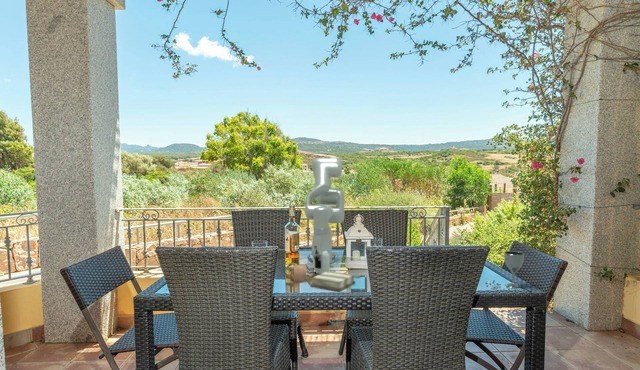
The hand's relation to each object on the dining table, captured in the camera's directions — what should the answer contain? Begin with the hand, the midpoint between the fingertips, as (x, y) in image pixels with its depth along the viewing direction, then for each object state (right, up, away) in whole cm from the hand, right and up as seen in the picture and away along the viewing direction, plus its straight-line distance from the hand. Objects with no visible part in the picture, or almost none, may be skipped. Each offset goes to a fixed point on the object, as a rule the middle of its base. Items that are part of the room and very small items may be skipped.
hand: (321, 266), depth 214 cm
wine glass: (+87, -5, -22) cm, 90 cm away
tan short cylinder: (-10, -4, -13) cm, 17 cm away
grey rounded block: (0, -4, 0) cm, 4 cm away
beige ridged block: (+5, -5, -20) cm, 21 cm away
